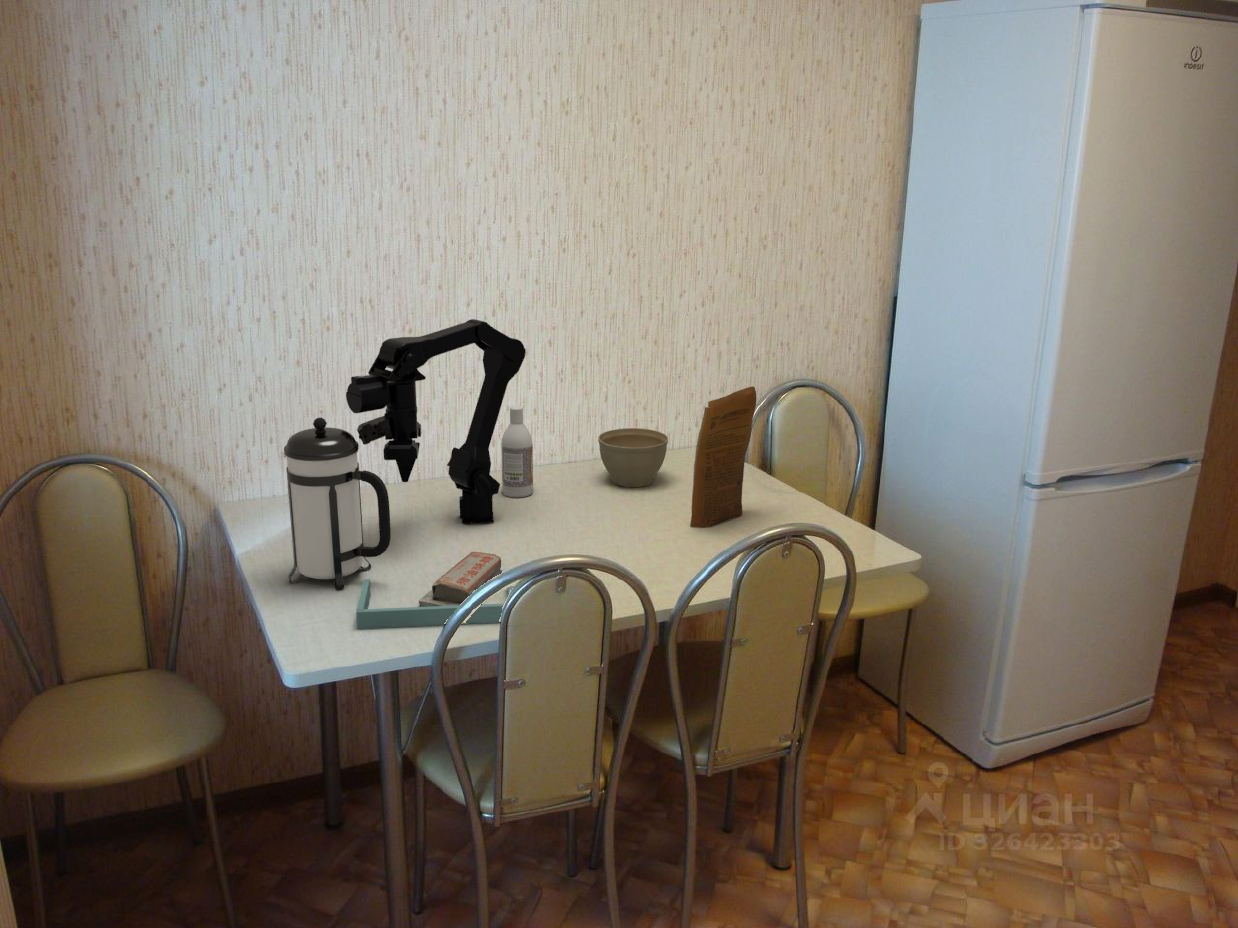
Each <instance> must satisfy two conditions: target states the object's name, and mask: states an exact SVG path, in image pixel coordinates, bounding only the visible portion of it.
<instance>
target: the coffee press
mask: <svg viewBox="0 0 1238 928" xmlns="http://www.w3.org/2000/svg"><path fill="white" fill-rule="evenodd" d="M327 424H328V422H327V421H326V419H325V418H324V417H317V418H315V419H314V421H313V423H312V425H313V428H307V429H304V430H300V431H298V432H296V433H293V435H291V436H290V437H289V438H288V440H287V442H286V445H285V446H284V448H283V458H286V464H287V467H286V478H287V490H288V505H289V518H290V528H291V529H290V530H291V531H290V532H291V543H292V555H293V567H292V570H291V571H290V572H289V574H288V581H289V582H290V583H291V584H297V583H298V582H299V581H300V580H301V579H302V578H304V577H307V578H311V579H315V580H316V579H317V580H331V579H332V580H333V584H334V587H335V590H337V591H338V590H342V589H343V590H344V589H345V582H344V577H346V576H349V575H352V574H353V573H356V572H357V571H358V570H360V569H362V570H363V571H366V572H367V570H368V571H370V570H371V568H372V565H371V563H370V561H369V560H367V558H376V557H380V556H381V555H382V554H383V553H385V552H386V551H387V550H388V548H389V546H390V543H391V536H392V535H391V530H392V529H391V510H390V499H389V493H388V488H387V487H386V484H385V482H384V481H383V479H382V478H381V477H379V476H378V475H377V474H375V473H373V472H372V471H368V470H366V469H365V470H360V463H359V461H358V451H359V450H360V446H359V442H358V441H356V439H355V437H354V435H353V434H352V433H350V432H349V431H347V430H345V429H342V428H337V427H329V426H327ZM360 481H361V482H366V483H368V484H369V485H371V486H372V488H373V489H374V491H375V493H376V498H377V511H378V528H379V529H378V530H379V531H378V532H379V540H378V543H377V545H376V546H364V533H363V532H364V531H363V516H362V515H363V514H362V499H361V497H362V496H361V485H360V484H361V482H360ZM364 560H365V561H366V562H367V564H368V565H367V566H366V567H364V566H362V565H363V562H364ZM296 571H298V572H299V574H298V575H297V576H296V577H295V578H294V579H292V577H293V576H294V574H295V573H296Z"/></svg>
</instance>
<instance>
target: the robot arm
mask: <svg viewBox="0 0 1238 928" xmlns="http://www.w3.org/2000/svg"><path fill="white" fill-rule="evenodd" d="M473 344H475V346H476V347H477V348H478V349H480V350H482V351H483V354H482V355H483V357H482V364H483V370H484V379H483V382H482V385H481V388H480V392H479V395H478V398H477V403H476V406H475V409H474V413H473V415H472V420H471V423H470V426H469V429H468V433H467V436H466V440H465V442H464V443H462V445H461V446H460V447H459V448H458V447H455V446H454V447H453V448H452V450H451V455H450V459H449V461H448V462H447V464H446V466H448V476H449V477H450V480H451V481H452V482H453V483H454V484H455V487H456V489H457V490H461V495H460V496H459V500H458V501H459V519H461V522H462V524H463V525H469V524H470V525H471V524H472V525H475V524H476V525H478V524H493V523H494V521H495V517H494V508H493V505H494V504H493V503H494V502H493V496H494V495H498V494H499V490H500V486H501V483H500V482H499V481H497V480H496V479H495V478H494V477H493V476H492V475H491V474H490V473H491V467H492V461H491V455H490V454H491V453H490V444H491V442H492V438H493V435H494V432H495V428H496V424H497V421H498V418H499V415H500V412H501V408H502V404H503V401H504V398H505V395H506V391H507V389H508V388H507V387H508V384H509V382H510V381H511V380H512V379H513V378H514V377H515V376H516V375H517V373H518V372H519V371H520V369H521V366H522V364H523V362H524V360H525V358H526V353H527V351H526V348H525V346H524V343H523V342H522V341H521V340H520V339H518V338H513V337H509V336H508V335H506V334H504V333H503V332H501V331H499V330H498V329H496V328H495V327H494V326H491V324H489V323H488V322H487V321H483V320H479V319H474V318H472V319H468V320H467V321H465V322H462V323H459V324H456V325H453V326H449V327H447V328H443V329H440V330H437V331H434V332H431V333H427V334H425V335H421V336H402V337H401V336H400V337H391V338H388V339H385V340H384V341H383V342H381V346H380V348H379V352H378V355H377V356H376V358H375V360H374V362H373V363H372V364H371V367H370V369H369V371H368V375H362V376H359V375H354V376H351V378H350V379H351V381H350V382H351V383H349V385H348V386H347V388H346V392H345V397H346V398H345V399H346V403H347V406H348V408H349V409H350V411H351V412H352V413H354V414H361V413H366V412H367V413H368V412H373V411H377V410H382V409H385V412H384V415H382V416H379V417H378V416H377V417H376V418H373V419H370V420H368V421H365V422H363V423H360V424H359V425H358V426H357V429H356V431H357V433H358V438H359V440H361V442H362V444H363V445H369V444H370V443H371V442H374V441H376V440H379V439H381V438H382V439H383V438H384V437H385V438H384V439H385V440H388V441H387V442H386V443H385V444H384V446H383V460H384V461H395V463H396V466H397V468H398V472H399V476H400V479H401V482H402V483H408V482H409V479H410V476H411V473H412V472H413V469H414V466H415V463H416V460H417V459H418V456H419V451H420V446H421V443H420V442H417V441H416V439H418V438H421V437H422V425H421V423H420V422H419V421H418V412H419V411H418V405H417V383H416V382H421V381H424V380H426V375H424V374H423V373H421V372H420V371H419V368H421V367H422V366H424V365H425V364H426V363H427V362H428V361H429V360H430V359H432V358H434V357H436V356H439V355H442V354H445V353H448V352H451V351H454V350H459V349H460V348H463V347H466V346H470V345H473ZM387 368H388V369H387ZM390 369H391V370H390Z"/></svg>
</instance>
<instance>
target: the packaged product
mask: <svg viewBox="0 0 1238 928" xmlns="http://www.w3.org/2000/svg"><path fill="white" fill-rule="evenodd" d="M501 568H502V557H500V556H499V555H497V554H495V553H489V552H488V553H487V552H482V551H471V552H469V553H468V554H467V555H466V556H465V557H463V558H462V559H461V560H459V562H457V563H455V565H454V566H453V567H451V568H450V569H449V570H448V571H447V572H446V573H444V574H443V575H442V576H441V577H440V578H438V579H437V580H436V581H434V582H433V583H432V586H431V590H429V591H428V592H427V593H426V594H425V595H423V596H422V597H421V598H419V599H418V605H419V607H432V606H456V605H460V604H461V603H462V602H463V601H464V600H465V599H466V598H467V597H468V596H470V595H471V594H472V592H473V591H474V590H476V589H478V588H479V587H480V586H481V585H483V584H484V583H486V582H487V581H488V580H490V579H492V578H493V577H495V576H497V575H499V574H501V573H502V571H504V570H502V569H501Z"/></svg>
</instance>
